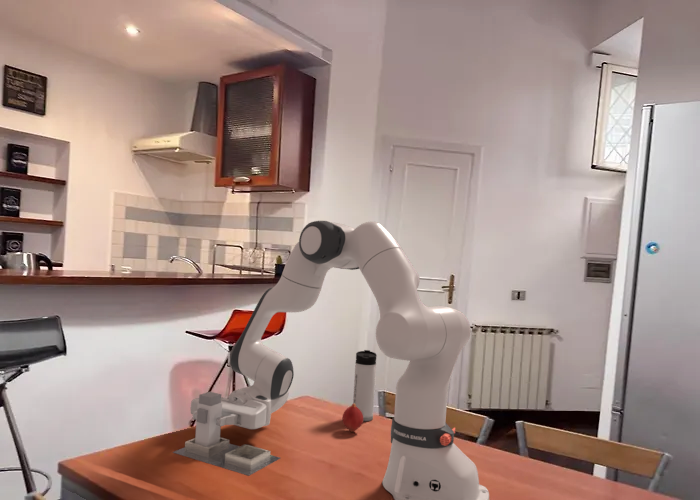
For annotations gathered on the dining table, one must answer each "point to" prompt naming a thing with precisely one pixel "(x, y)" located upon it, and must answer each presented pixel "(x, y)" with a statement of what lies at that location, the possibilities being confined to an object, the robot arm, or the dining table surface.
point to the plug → (208, 419)
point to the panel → (229, 456)
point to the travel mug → (365, 383)
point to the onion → (352, 418)
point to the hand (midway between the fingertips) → (206, 419)
